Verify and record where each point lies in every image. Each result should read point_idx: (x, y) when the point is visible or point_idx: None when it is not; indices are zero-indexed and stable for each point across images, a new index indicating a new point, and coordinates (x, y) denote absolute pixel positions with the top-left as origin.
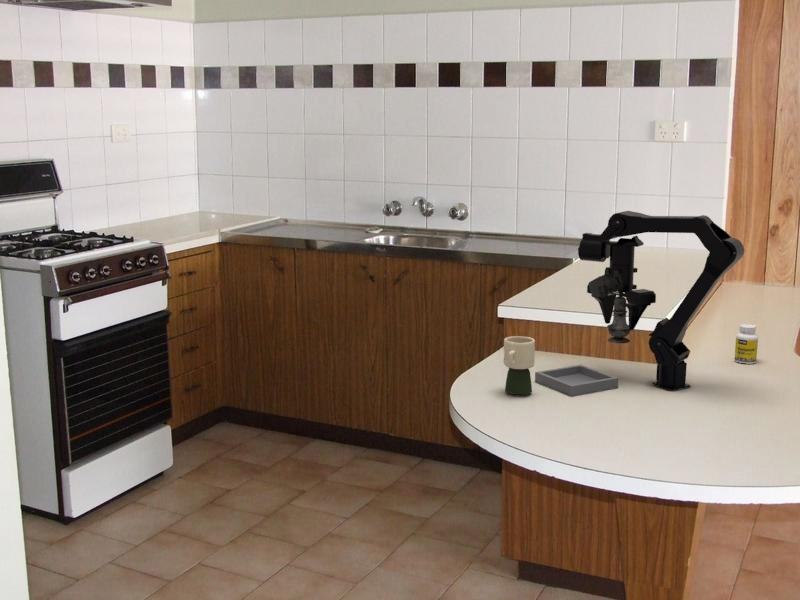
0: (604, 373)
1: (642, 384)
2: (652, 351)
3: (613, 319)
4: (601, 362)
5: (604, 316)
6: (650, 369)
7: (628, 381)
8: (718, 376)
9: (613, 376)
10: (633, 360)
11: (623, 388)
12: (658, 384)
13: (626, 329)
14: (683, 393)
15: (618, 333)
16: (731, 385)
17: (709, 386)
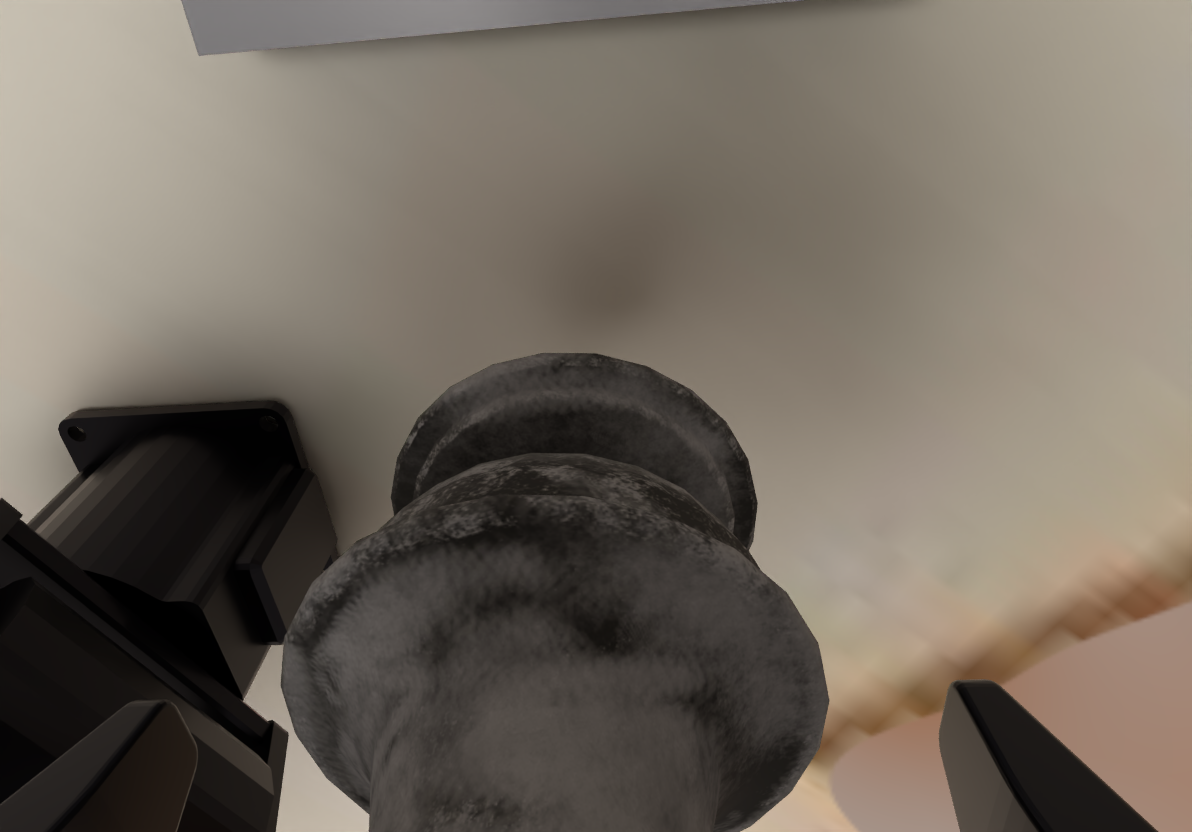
0: (441, 18)
1: (323, 343)
2: (28, 589)
3: (598, 797)
4: (1102, 460)
5: (1085, 822)
6: None
7: (450, 294)
8: (365, 821)
9: (276, 38)
10: (958, 678)
11: (236, 93)
12: (207, 419)
13: (285, 697)
14: (11, 459)
15: (381, 528)
16: None
17: None
